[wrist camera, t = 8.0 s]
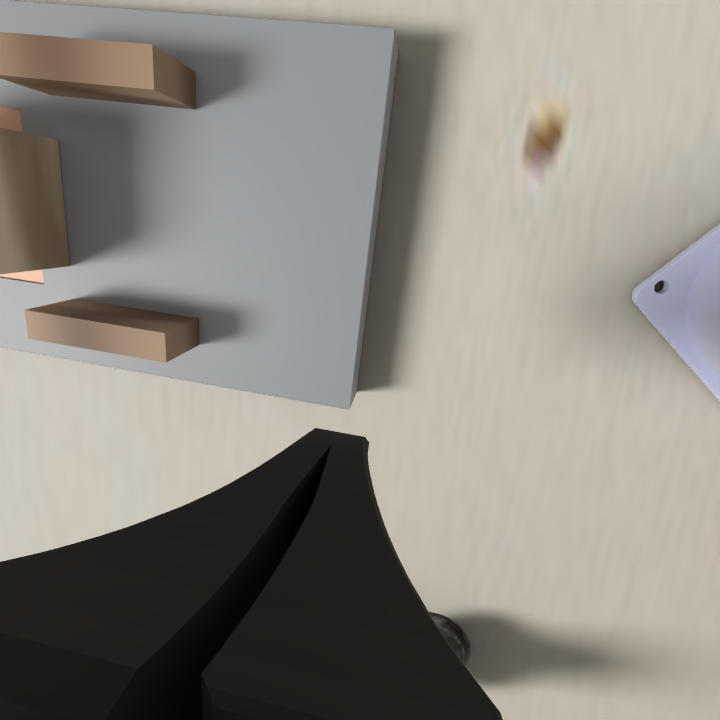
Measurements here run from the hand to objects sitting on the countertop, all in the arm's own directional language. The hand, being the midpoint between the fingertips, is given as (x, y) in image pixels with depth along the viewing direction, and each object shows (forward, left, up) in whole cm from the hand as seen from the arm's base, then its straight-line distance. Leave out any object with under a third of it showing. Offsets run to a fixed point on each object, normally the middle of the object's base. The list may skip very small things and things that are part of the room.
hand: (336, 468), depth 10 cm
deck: (+5, -14, -10) cm, 18 cm away
